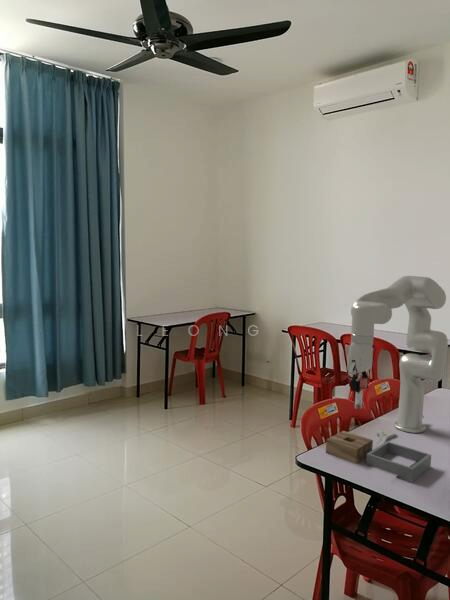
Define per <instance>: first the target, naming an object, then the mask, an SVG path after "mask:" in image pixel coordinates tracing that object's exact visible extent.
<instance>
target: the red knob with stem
mask: <svg viewBox="0 0 450 600" xmlns="http://www.w3.org/2000/svg"><path fill="white" fill-rule="evenodd" d="M359 381H360V392H355V399H354V409H356V410H362V409H363V397H364V395H363V393H364V392H363V391H364V389H365V388H367V381H368V382H369V380H368V378H366V377H362V376H361V375H360V378H359Z"/></svg>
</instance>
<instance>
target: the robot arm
mask: <svg viewBox="0 0 450 600" xmlns="http://www.w3.org/2000/svg"><path fill="white" fill-rule="evenodd" d="M446 302H447V295H446V291H445V290H444V289H443V287H442V286H440V285H439V284H438V283H437V282H436V280H434V279H433V278H430V277H428V276H416V275H404V276H402V277H399V278H398V279H396V281H394V282H393V283H392V284H390V285H389V286H388V287H387V288H382V289H379V290H375V291H371V292H368V293H365V294H363V295H362V296H360V297H359V298H357V299H356V300H355V301H354V303H353V304H352V305H351V309H350V315H351V331H350V332H351V334H350V345H349V349H348V356H347V366H346V368H347V369H346V370H347V371H348V372H347V374H348V375H349V377H350V391H351V392H355V393H356V392H360V381H359V378H360V376H362V377H366V378H368V381H367V388H364V389H365V390H367V389H369V378H370V372H371V369H372V368H373V357H374V356H373V355H374V354H373V353H374V350H373V345H374V335H375V334H374V333H375V325H385V324H387V323H388V322H389V321H391V319H392V317H393V311H392V310H394V309H398V308H400V307H402V306H403V305H404V306H405V307H406V309H407V312H408V316H409V317H408V326H407V333H406V347H407V348H408V349H409V350H412V351H415V352H419V353H426V354H429V355H430V354H431V356H427V355H422V354H416V353H406V354H403V355H402V356H401V357H400V359H399V364H398V365H399V374H400V384H399V385H400V386H399V387H400V388H399V403H398V416H397V420H395V421H394V422H393V427H394V428H396V429H397V430H399V431H403V432H406V433H413V434H417V433H418V434H419V433H424V432H426V430H427V429H426V425H425V424H423V419H424V418H425V417H424V414H423V413H424V401H425V399H424V398H425V386H424V383H423V381H422V380H425V381H429V382H435V383H436V382H440V381H441V380H442V379H443V377H444V374H445V369H446V363H447V356H448V355H447V353H448V348H449V347H448V345H449V341H448V336H447V334H445V332H443V331H438V330H432V329H431V325H432V316H431V314H430V312H429V310H428V309H433V310H439V309H442V308H443V307H444V306H445V304H446Z"/></svg>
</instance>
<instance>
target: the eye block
mask: <svg viewBox="0 0 450 600" xmlns="http://www.w3.org/2000/svg"><path fill="white" fill-rule="evenodd" d="M373 443H374V439H371V438H367V437H364V436H363V435H358V434H354V433H352V432H349V431H346V430H342V431H340V432H338V433H335V435H332V436H330V437H328V438H326V441H325V454H328V455H330V456H333V457H336V458H339V459H342V460H344V461H347V462H350V463H353V464H358V463H359V462H361V461H362V460H364V459H365V458H366V455H367V453H369V452H370V451H372V450H373V448H374V447H373Z"/></svg>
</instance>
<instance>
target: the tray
mask: <svg viewBox="0 0 450 600" xmlns="http://www.w3.org/2000/svg"><path fill="white" fill-rule="evenodd" d="M373 449H374V448H373ZM373 449H372V451H370V452H369V453H367V455H366V459H365V464H366V465H369V466H371V467H375V468H377V469H380V470H382V471H385V472H388V473H391V474H394V475H396V478H397V479H400V480H403V481H405V482H408V483H410V484H411V483H413V482H414V481H416V480H417V479H418V478H420V477H421V476H422V475H424V474H425V472H426V471H428V470H429V469H430V468H431V467H432V465H431V463H432V454H430V453H427V452H424V451H421V450H417V449H414V448H411V447H408V446H406V445H405V446H404V445H401V444H398V443H395V442H391V441H388V440H386V442H384V443H383V442H382V444H380V445H378V446H376V448H375V449H374V450H373ZM388 453H390V454H393V455H396V456H400V457H402V458H406V459H409V460H412V461H415V462H413V464H411V465H410V466H407V465H404V464H402V463H399V462H395V461H393V460H389V459H386V458H383V457H382V456H384V455H385V454H388Z"/></svg>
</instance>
